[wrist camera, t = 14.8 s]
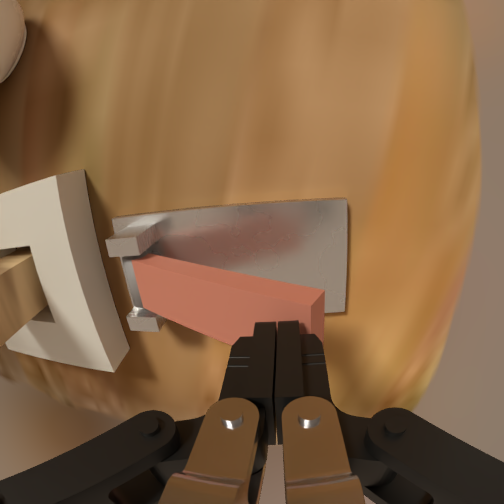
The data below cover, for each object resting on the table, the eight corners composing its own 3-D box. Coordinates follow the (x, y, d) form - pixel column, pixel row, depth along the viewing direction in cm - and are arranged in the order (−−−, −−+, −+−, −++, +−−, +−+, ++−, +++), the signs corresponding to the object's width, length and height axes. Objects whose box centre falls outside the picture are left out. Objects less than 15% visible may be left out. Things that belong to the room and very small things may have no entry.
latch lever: (148, 293, 18) (129, 303, 17) (138, 249, 17) (117, 258, 16) (324, 351, 12) (307, 375, 10) (326, 287, 11) (308, 308, 9)
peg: (34, 289, 21) (-40, 350, 11) (22, 246, 19) (-63, 298, 10) (63, 291, 20) (-17, 362, 11) (50, 244, 19) (-44, 304, 10)
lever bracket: (139, 312, 20) (120, 337, 17) (116, 216, 18) (89, 230, 15) (342, 306, 18) (352, 335, 15) (344, 197, 16) (359, 209, 13)
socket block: (24, 333, 23) (8, 349, 20) (-17, 201, 18) (-39, 210, 15) (129, 348, 21) (114, 372, 19) (84, 169, 17) (55, 175, 14)
